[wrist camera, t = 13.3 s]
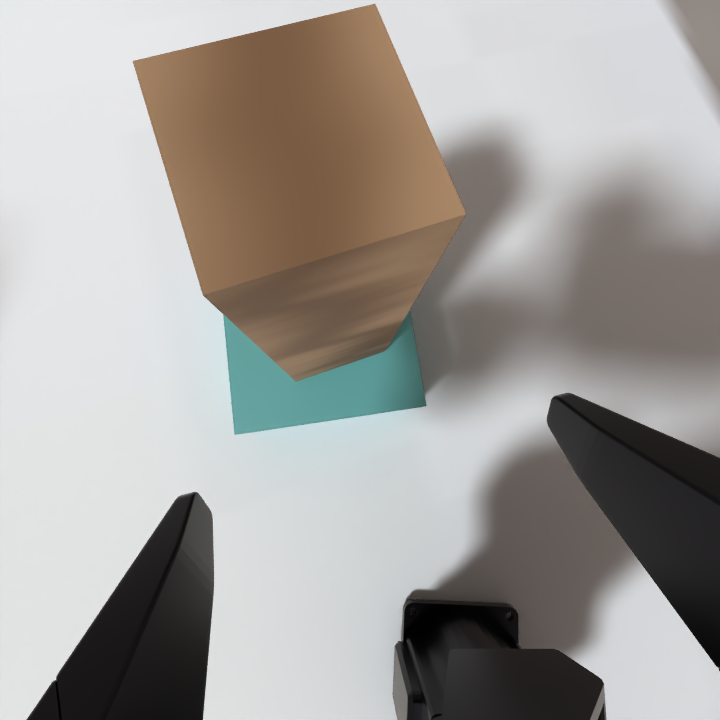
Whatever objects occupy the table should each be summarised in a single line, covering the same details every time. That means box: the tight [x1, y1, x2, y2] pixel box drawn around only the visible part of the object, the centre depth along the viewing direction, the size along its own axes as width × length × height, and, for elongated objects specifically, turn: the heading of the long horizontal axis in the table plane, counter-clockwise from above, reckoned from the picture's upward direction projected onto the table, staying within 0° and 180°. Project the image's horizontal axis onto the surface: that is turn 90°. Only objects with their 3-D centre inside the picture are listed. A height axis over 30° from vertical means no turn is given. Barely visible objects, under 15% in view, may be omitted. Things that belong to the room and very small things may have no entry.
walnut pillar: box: [133, 4, 466, 382], centre depth 13 cm, size 5×5×13 cm
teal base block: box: [223, 310, 426, 435], centre depth 22 cm, size 10×10×4 cm
